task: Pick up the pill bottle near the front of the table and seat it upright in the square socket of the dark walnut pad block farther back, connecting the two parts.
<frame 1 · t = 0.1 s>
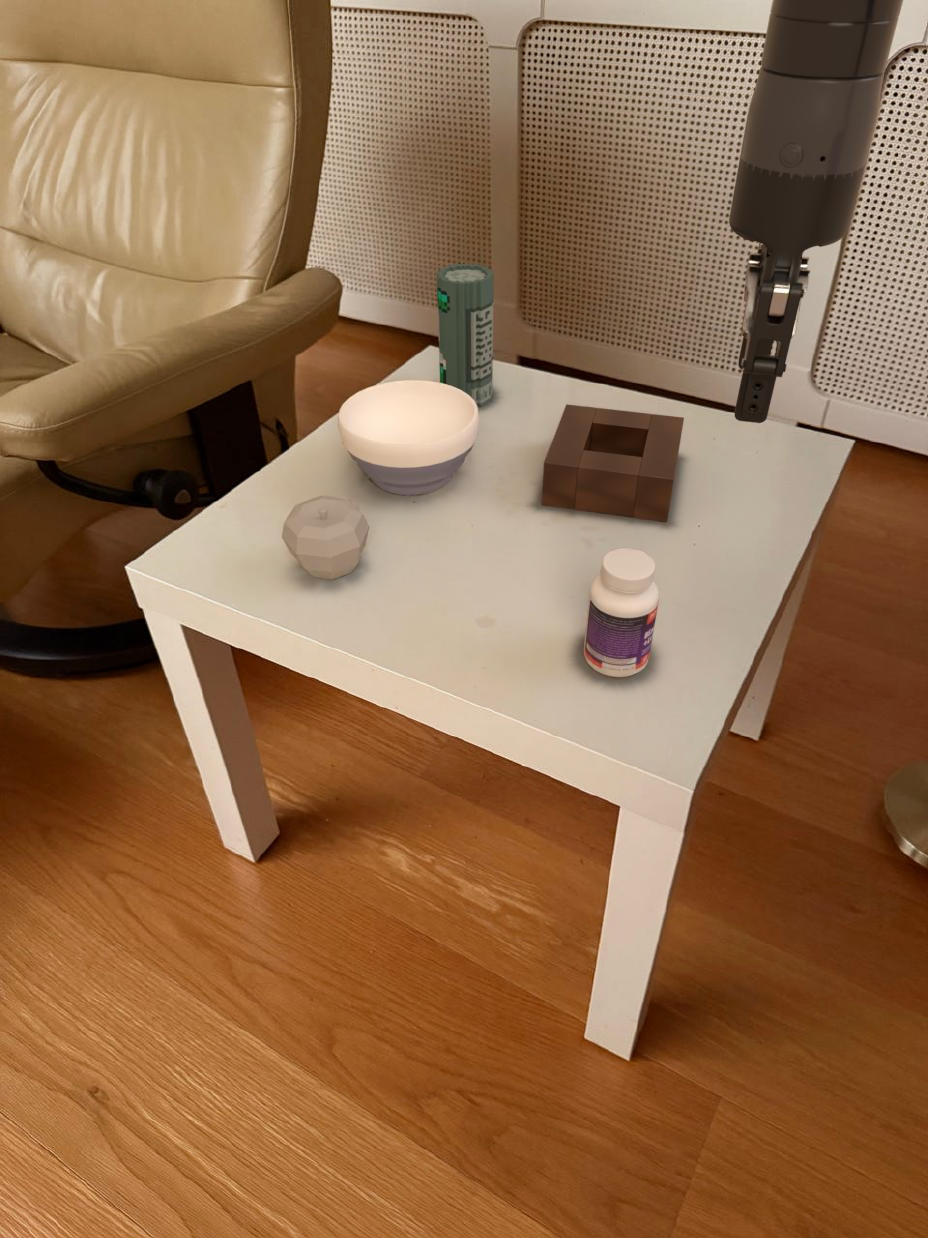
hand: (750, 392, 65), 20 cm above the table, tool pointing down, fingers open, 8 cm apart
bowl: (412, 476, 95), on the table
apple: (331, 569, 83), on the table
pill bottle: (615, 658, 73), on the table
socket pad: (611, 480, 93), on the table
can: (466, 398, 108), on the table
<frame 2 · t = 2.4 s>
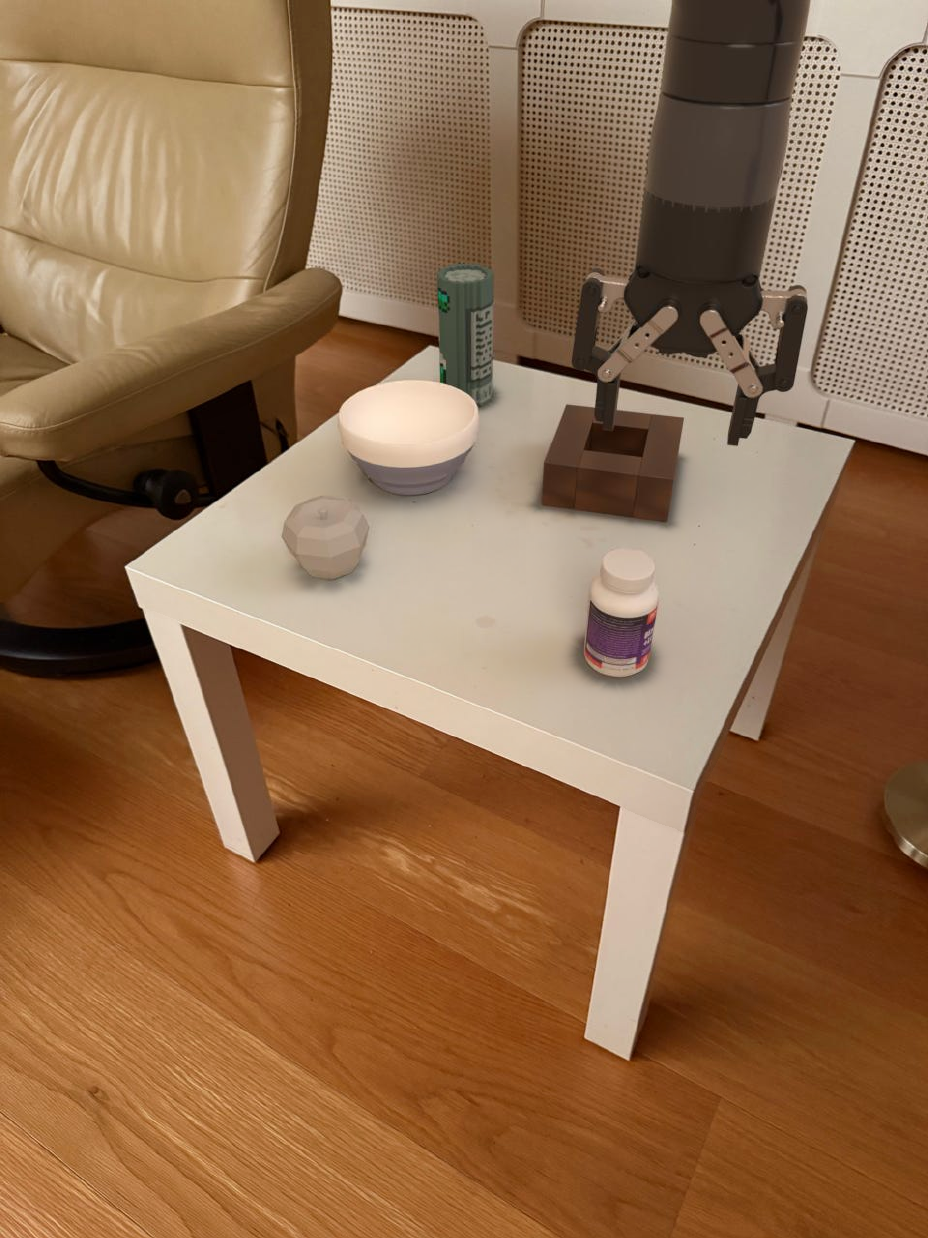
hand: (670, 432, 61), 20 cm above the table, tool pointing down, fingers open, 8 cm apart
nothing on the table moved.
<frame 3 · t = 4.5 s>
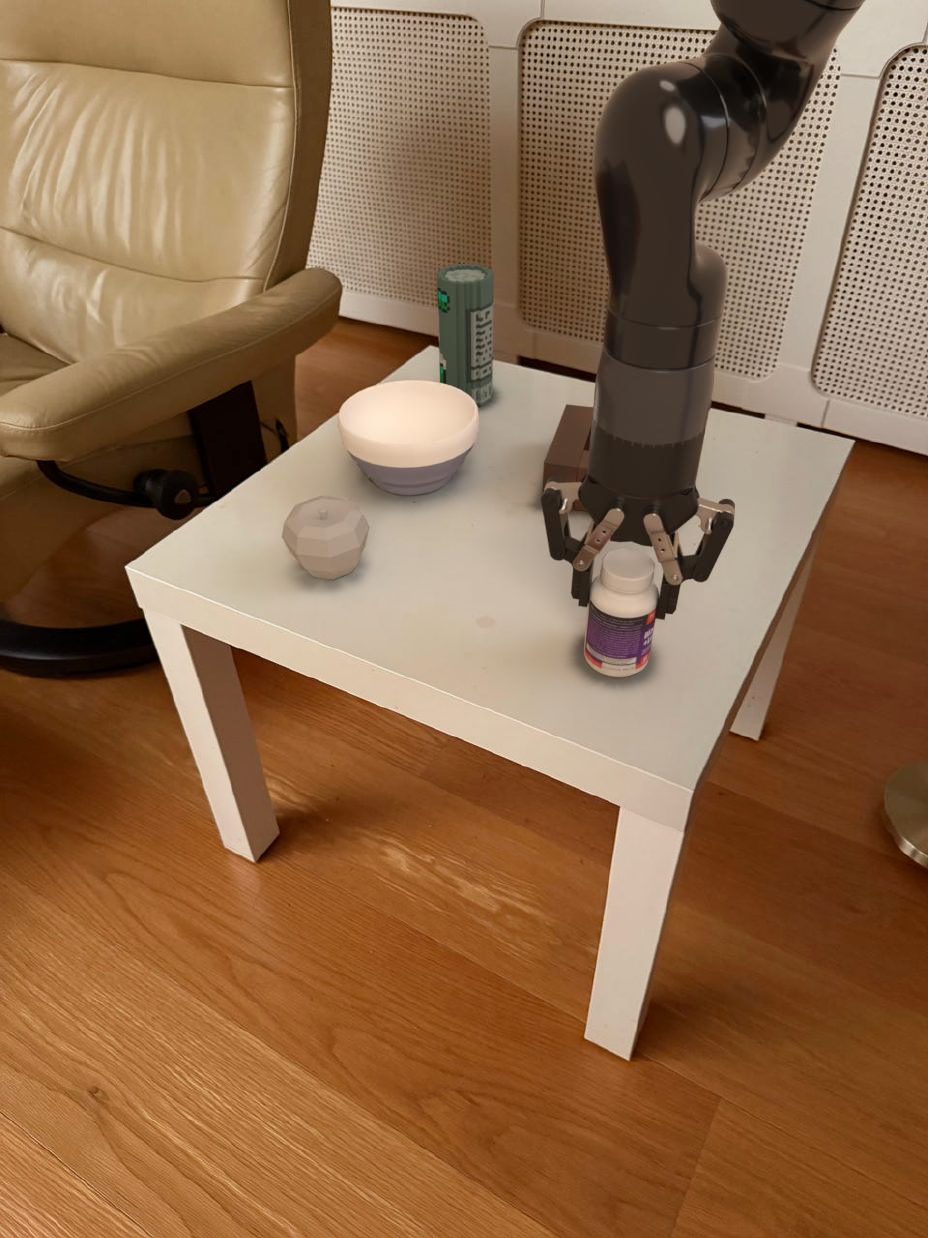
hand: (622, 605, 69), 5 cm above the table, tool pointing down, fingers closed on pill bottle, 5 cm apart
pill bottle: (615, 658, 73), on the table, touching gripper
everything else where it was.
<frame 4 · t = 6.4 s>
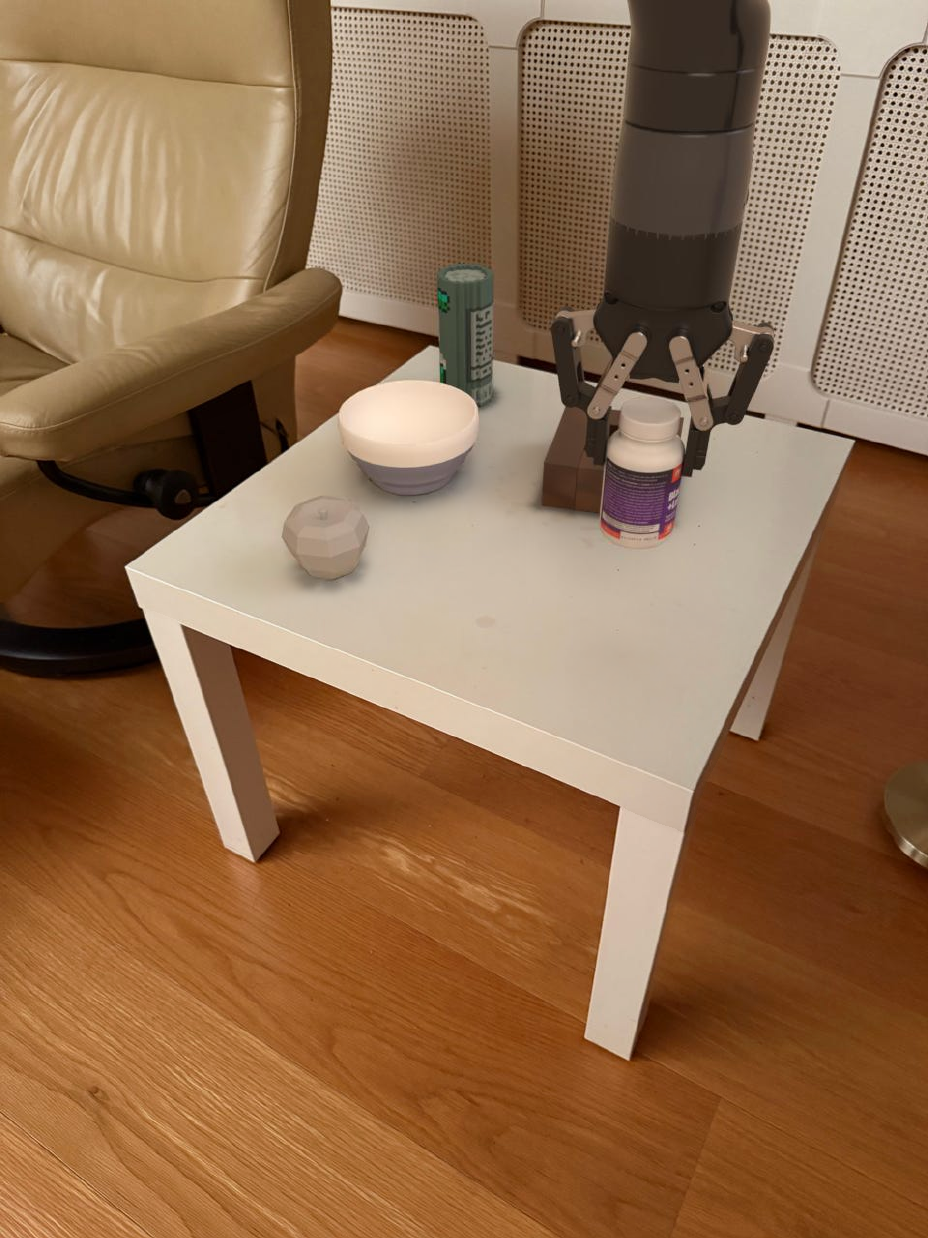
hand: (643, 464, 61), 18 cm above the table, tool pointing down, fingers closed on pill bottle, 5 cm apart
pill bottle: (635, 532, 65), point 12 cm above the table, touching gripper
everything else where it was.
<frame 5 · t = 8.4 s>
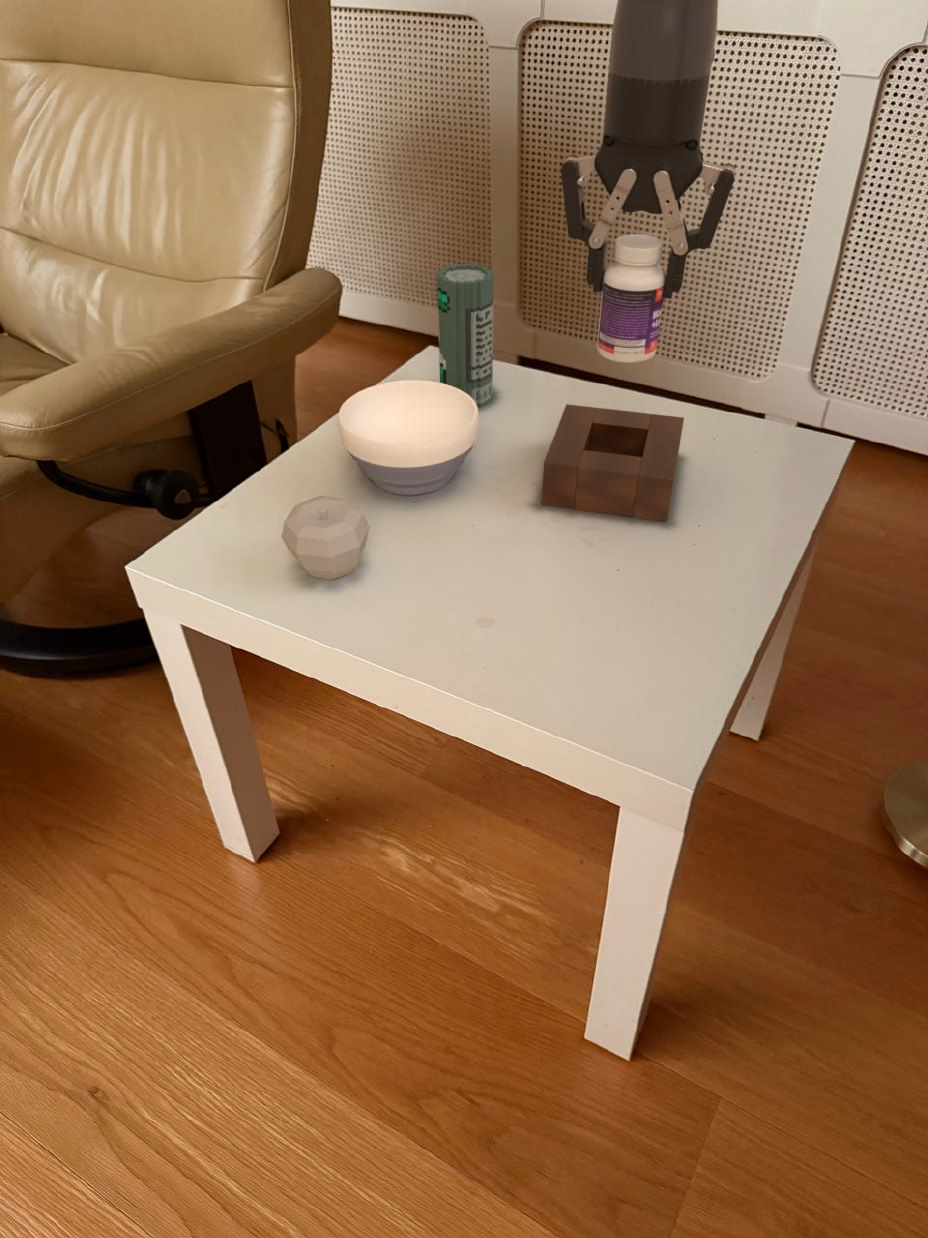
hand: (633, 291, 76), 22 cm above the table, tool pointing down, fingers closed on pill bottle, 5 cm apart
pill bottle: (625, 353, 80), point 16 cm above the table, touching gripper
everything else where it was.
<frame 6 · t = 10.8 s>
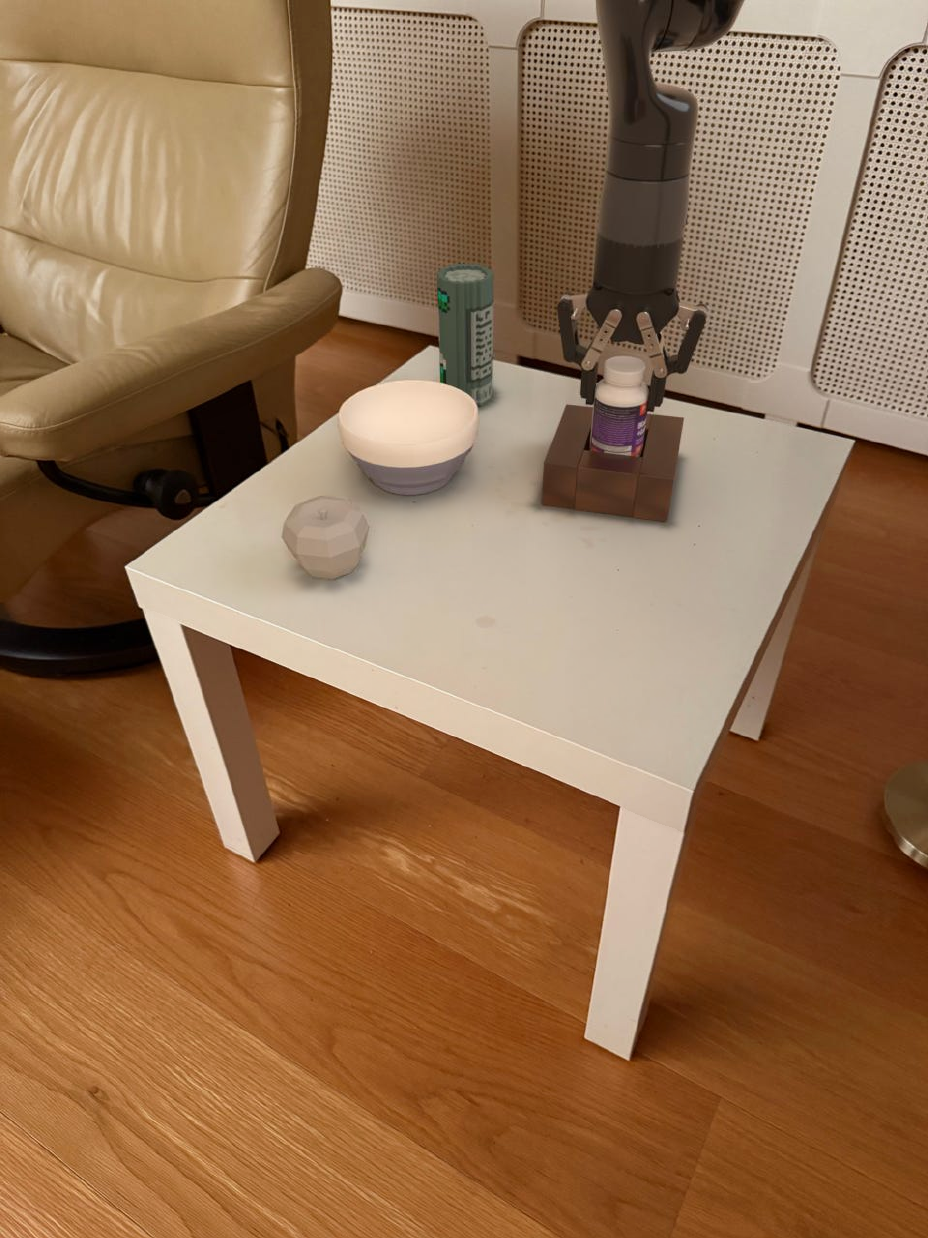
hand: (620, 404, 87), 9 cm above the table, tool pointing down, fingers closed on pill bottle, 5 cm apart
pill bottle: (615, 454, 91), point 3 cm above the table, touching gripper
everything else where it was.
when the fingers open (5 cm above the table, at t = 12.3 s): pill bottle stays where it is, resting in socket pad.
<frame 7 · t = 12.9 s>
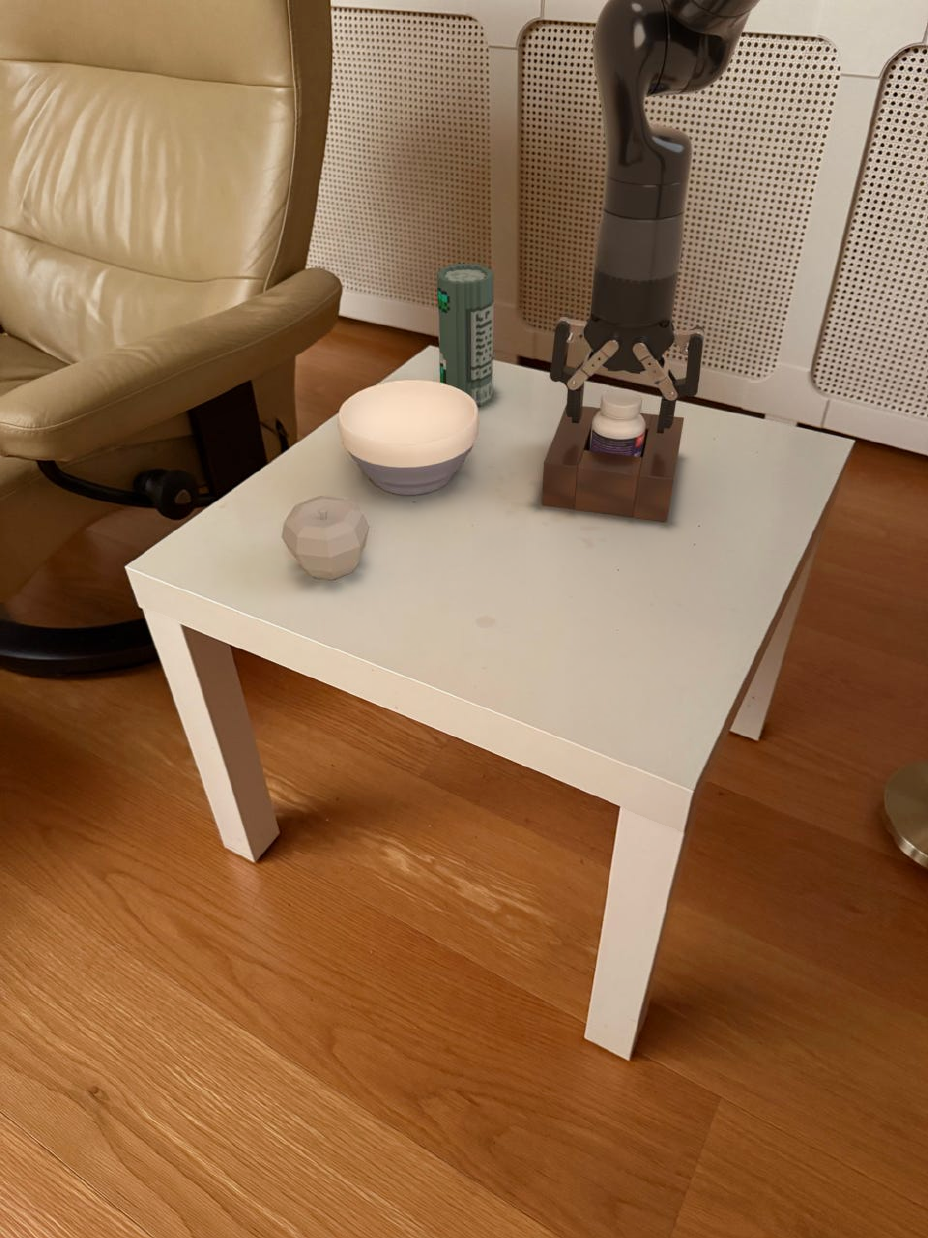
hand: (618, 424, 89), 7 cm above the table, tool pointing down, fingers open, 8 cm apart
pill bottle: (611, 483, 93), resting in socket pad
everything else where it was.
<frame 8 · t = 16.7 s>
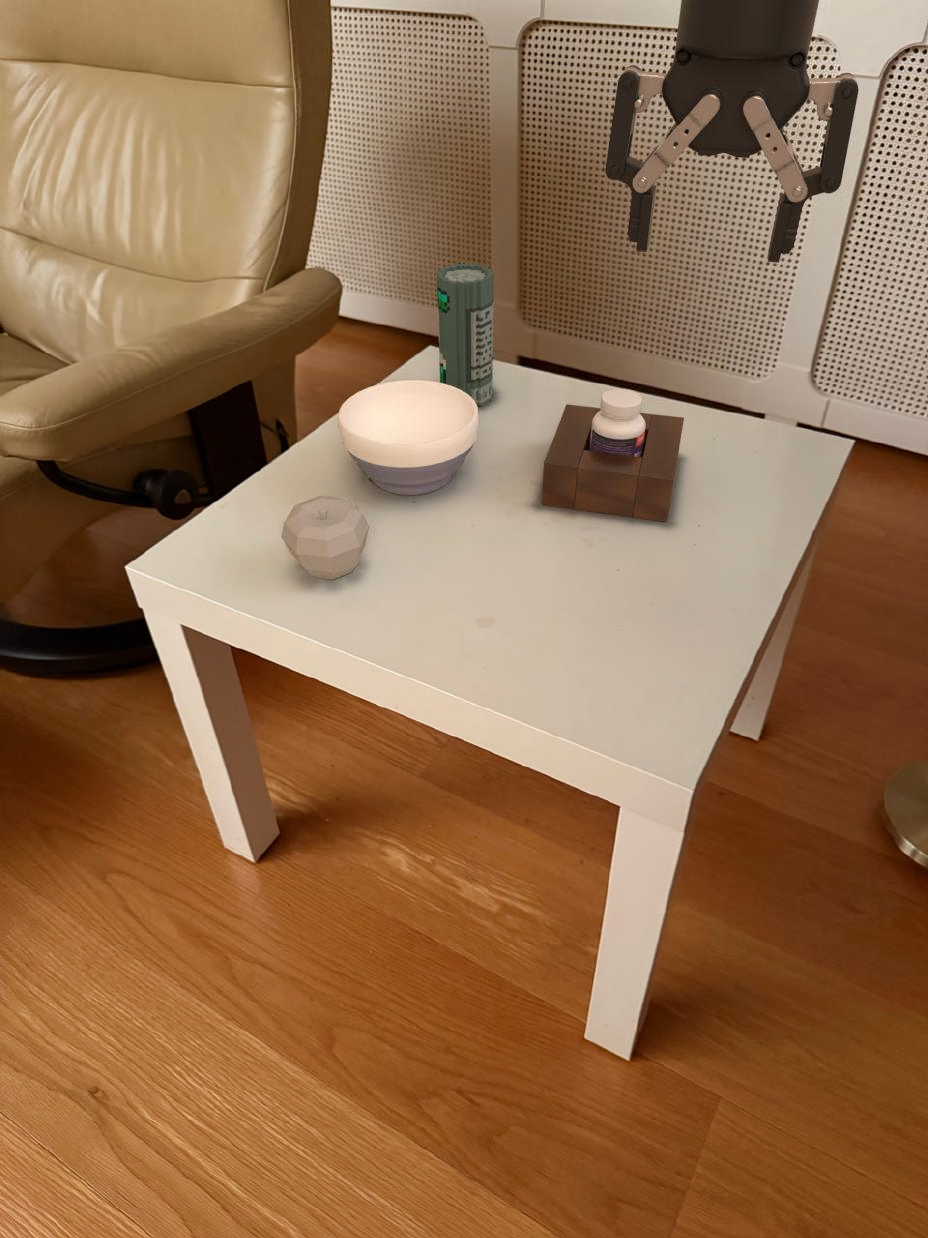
hand: (707, 253, 59), 30 cm above the table, tool pointing down, fingers open, 8 cm apart
nothing on the table moved.
at the end: pill bottle 0.1 cm off-centre in the socket pad, point 0.0 cm above the socket pad's base; pill bottle tilted 0°; the gripper is holding nothing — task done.
